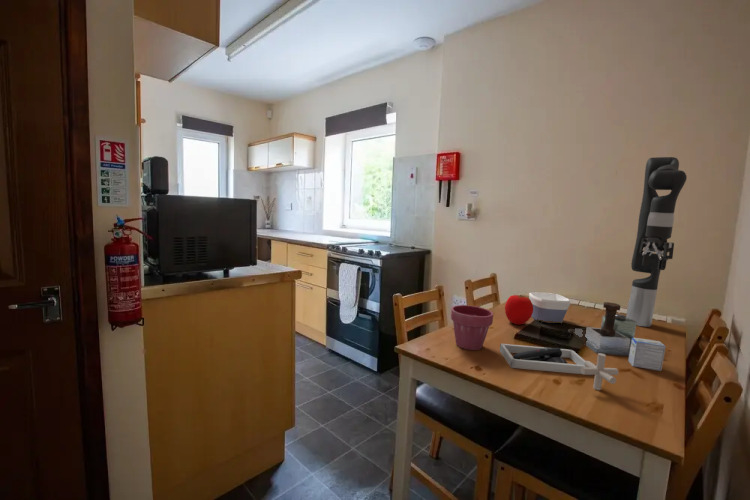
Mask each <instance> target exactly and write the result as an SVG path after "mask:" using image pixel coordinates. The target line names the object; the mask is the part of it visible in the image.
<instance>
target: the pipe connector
mask: <svg viewBox="0 0 750 500" xmlns="http://www.w3.org/2000/svg"><path fill="white" fill-rule="evenodd" d="M606 357H607V354H602V353H597V358H596V359H597V360H596V364H594V362H592V361H589V360H585V363H584V365H585V366H586V367H587V368H581V369H580V371H581V373H582V374H581V375H586V374H588V375H587V376H593V375H594V381H593V386H592V388H593V389H594V390H597V391H601V390H602V384H603V379H604V380H605V381H606V382H608V383H610V384H611V385H614V384H616V382H617V378H616V377H615V376H618V375H619V370H618V368H616V367H605V364H606Z"/></svg>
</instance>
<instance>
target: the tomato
mask: <svg viewBox="0 0 750 500" xmlns="http://www.w3.org/2000/svg"><path fill="white" fill-rule="evenodd" d="M504 312H505V316H506V318H507V320H508V322H511V323H512V324H514V325H518V326H520V325H523V324H526V323H527V322H528V321H529V320H530V319H531V318H532V314H533V304H532V302H531V300H530V298H528V297H527V296H525V295H522V294H520V295H517V294H513V295H510V296H509V297H508V298H507V300H506V302H505V305H504Z"/></svg>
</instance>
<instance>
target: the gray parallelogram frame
mask: <svg viewBox="0 0 750 500" xmlns="http://www.w3.org/2000/svg"><path fill="white" fill-rule="evenodd" d="M543 348H544V346H543V347H542V346H531V345H520V344H509V343H500V344H499V352H500V354H501V355H502V357H503V359H504V360H505V361H506V362H507V364H508V365H509V366H510V368H512V369H523V370H530V371H531V370H532V371H533V370H534V371H544V372H554V373H555V372H557V373H566V374H575V375H576V374H577V375H583V374H582V373H581V371H580V369H581V368H587V367H586V366H585V365H584V363H585V361H586V360H585V359H584V358H583V357H581V356H580V355H579V354H578V353H576V351H574V350H573V349H566V348H560V349H561V351H562V355H561V357H562V358H567V359H568V358H569V359H570V360H571V361H573V362H574V364H573V363H568V364H566V363H555V362H544V361H533V360H522V359H514V358H513V355H512V354H518V353H521V352H526V351H531V350H537V349H543ZM511 353H512V354H511ZM585 375H586V376H589V375H588V374H585Z"/></svg>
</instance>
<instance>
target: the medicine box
mask: <svg viewBox="0 0 750 500" xmlns="http://www.w3.org/2000/svg"><path fill="white" fill-rule="evenodd" d="M665 352H666V345H665V344H663V343H662V342H661V341H660V340H654V339H648V338H646V339H645V338H641V337H639V338H638V337H634V338H632V341H631V347H630V353H629V356H628V362H629V364H630V365H631V366H632V367H635V368H642V369H647V370H652V371H657V372H658V371H659V372H662V369H663V364H664V358H665Z"/></svg>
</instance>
